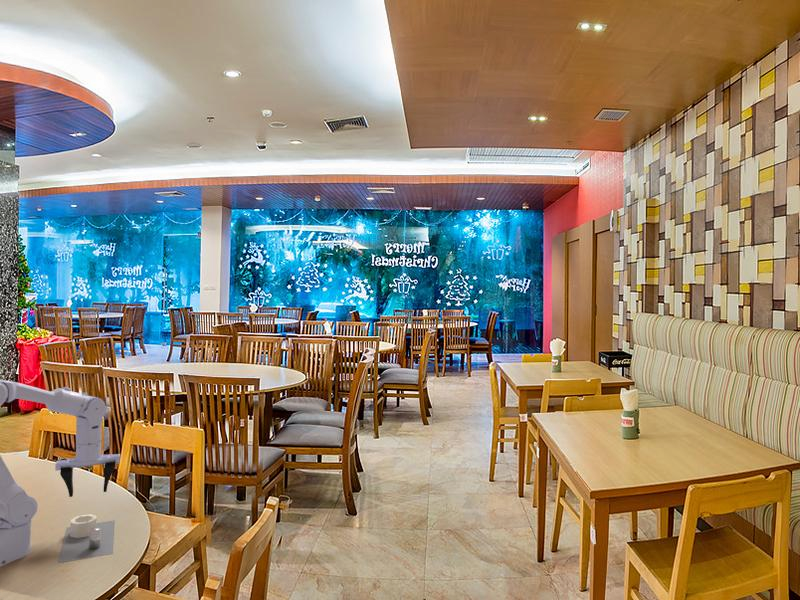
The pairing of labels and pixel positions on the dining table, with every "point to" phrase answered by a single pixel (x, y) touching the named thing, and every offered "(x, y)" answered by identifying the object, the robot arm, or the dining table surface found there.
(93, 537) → the steel post
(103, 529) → the gray board
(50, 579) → the dining table surface
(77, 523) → the cream ring
